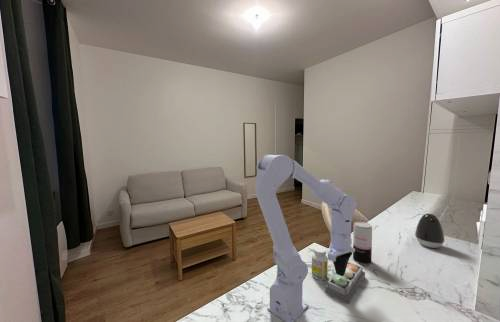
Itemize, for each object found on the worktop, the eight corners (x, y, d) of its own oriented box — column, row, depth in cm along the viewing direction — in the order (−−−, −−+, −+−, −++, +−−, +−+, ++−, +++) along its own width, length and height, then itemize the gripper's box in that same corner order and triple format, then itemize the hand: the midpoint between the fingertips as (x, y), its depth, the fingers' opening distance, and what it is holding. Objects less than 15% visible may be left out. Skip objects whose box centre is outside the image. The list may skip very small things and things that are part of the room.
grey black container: (357, 254, 86) (357, 220, 85) (374, 261, 81) (374, 224, 80) (350, 259, 82) (350, 224, 81) (367, 267, 77) (368, 228, 76)
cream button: (350, 280, 64) (350, 275, 64) (337, 275, 66) (337, 270, 66) (354, 275, 66) (354, 270, 66) (342, 270, 69) (342, 265, 69)
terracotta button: (355, 276, 68) (356, 271, 68) (343, 271, 70) (343, 267, 70) (359, 271, 70) (359, 266, 70) (347, 266, 73) (347, 262, 73)
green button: (344, 289, 60) (344, 284, 60) (331, 283, 62) (331, 278, 62) (348, 282, 63) (349, 278, 62) (336, 277, 65) (336, 272, 65)
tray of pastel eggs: (348, 304, 58) (348, 292, 58) (324, 292, 63) (325, 281, 63) (364, 277, 70) (365, 267, 70) (344, 269, 75) (344, 260, 75)
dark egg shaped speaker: (420, 248, 91) (421, 216, 90) (411, 239, 100) (412, 209, 100) (449, 252, 87) (450, 218, 86) (437, 242, 97) (438, 211, 96)
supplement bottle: (315, 281, 68) (315, 253, 68) (309, 271, 74) (309, 246, 73) (330, 280, 69) (330, 253, 69) (323, 270, 74) (323, 245, 74)
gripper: (346, 243, 54) (345, 292, 54) (361, 228, 64) (361, 269, 65) (320, 236, 59) (320, 280, 59) (339, 223, 69) (338, 261, 70)
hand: (340, 274), depth 62 cm, fingers closed
